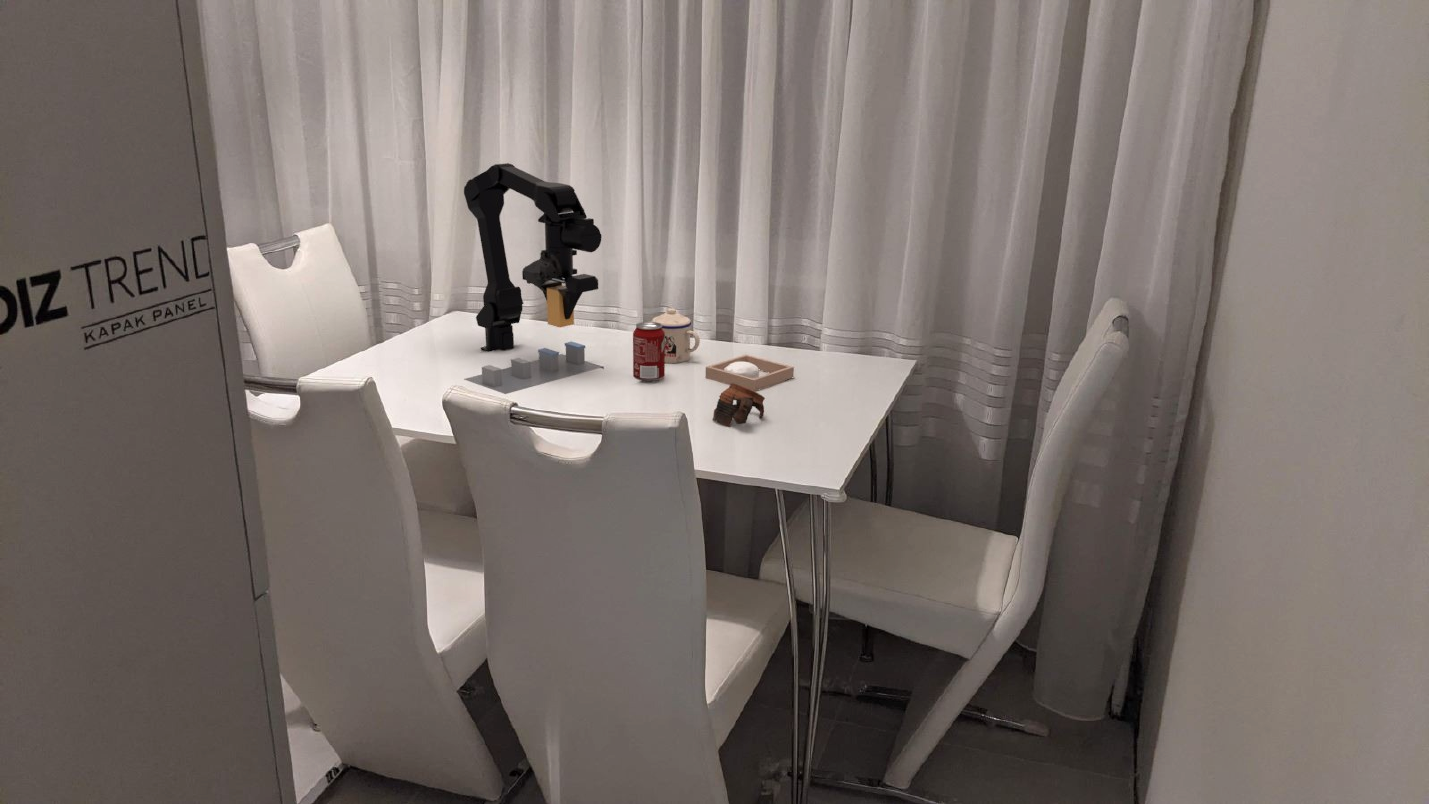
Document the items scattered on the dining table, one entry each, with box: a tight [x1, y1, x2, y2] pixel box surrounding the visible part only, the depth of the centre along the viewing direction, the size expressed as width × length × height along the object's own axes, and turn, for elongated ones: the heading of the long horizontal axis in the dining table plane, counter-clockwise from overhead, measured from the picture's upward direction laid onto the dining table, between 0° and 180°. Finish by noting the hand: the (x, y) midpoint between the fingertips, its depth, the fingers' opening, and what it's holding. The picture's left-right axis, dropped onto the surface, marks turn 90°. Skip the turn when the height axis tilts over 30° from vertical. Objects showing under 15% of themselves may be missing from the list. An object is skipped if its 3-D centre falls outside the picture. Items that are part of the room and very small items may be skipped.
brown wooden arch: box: [712, 383, 766, 428], centre depth 205 cm, size 12×10×8 cm
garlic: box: [724, 362, 760, 379], centre depth 231 cm, size 8×7×4 cm
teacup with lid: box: [651, 307, 701, 364], centre depth 243 cm, size 12×9×12 cm
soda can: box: [632, 321, 666, 383], centre depth 228 cm, size 7×7×12 cm
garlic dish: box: [705, 354, 795, 392], centre depth 232 cm, size 14×14×2 cm
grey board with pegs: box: [463, 340, 605, 395], centre depth 229 cm, size 14×27×5 cm, turn 139°
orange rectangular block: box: [546, 284, 575, 328], centre depth 231 cm, size 4×4×8 cm
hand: (560, 317), depth 231 cm, fingers closed on orange rectangular block, 4 cm apart
